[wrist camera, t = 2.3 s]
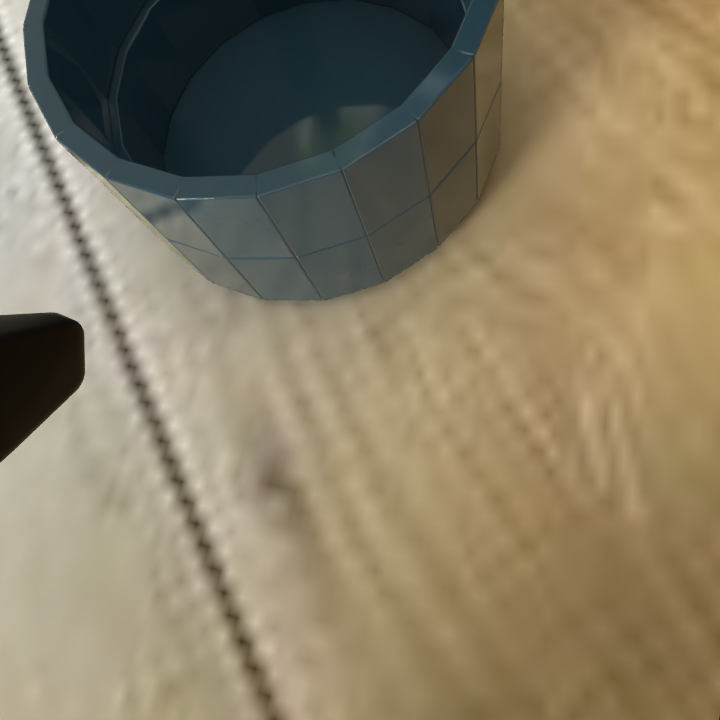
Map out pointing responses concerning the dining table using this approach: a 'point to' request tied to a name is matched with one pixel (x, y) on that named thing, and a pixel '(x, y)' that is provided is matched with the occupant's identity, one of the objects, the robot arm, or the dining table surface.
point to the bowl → (278, 127)
